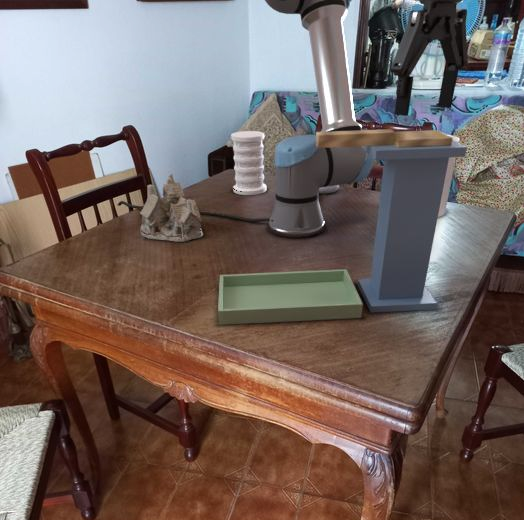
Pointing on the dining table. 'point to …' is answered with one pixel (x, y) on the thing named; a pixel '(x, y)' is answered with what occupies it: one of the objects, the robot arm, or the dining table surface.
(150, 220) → the ceramic cottage
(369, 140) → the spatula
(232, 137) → the decorative container
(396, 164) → the stand
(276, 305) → the tray
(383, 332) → the dining table surface
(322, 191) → the donut
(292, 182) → the robot arm
